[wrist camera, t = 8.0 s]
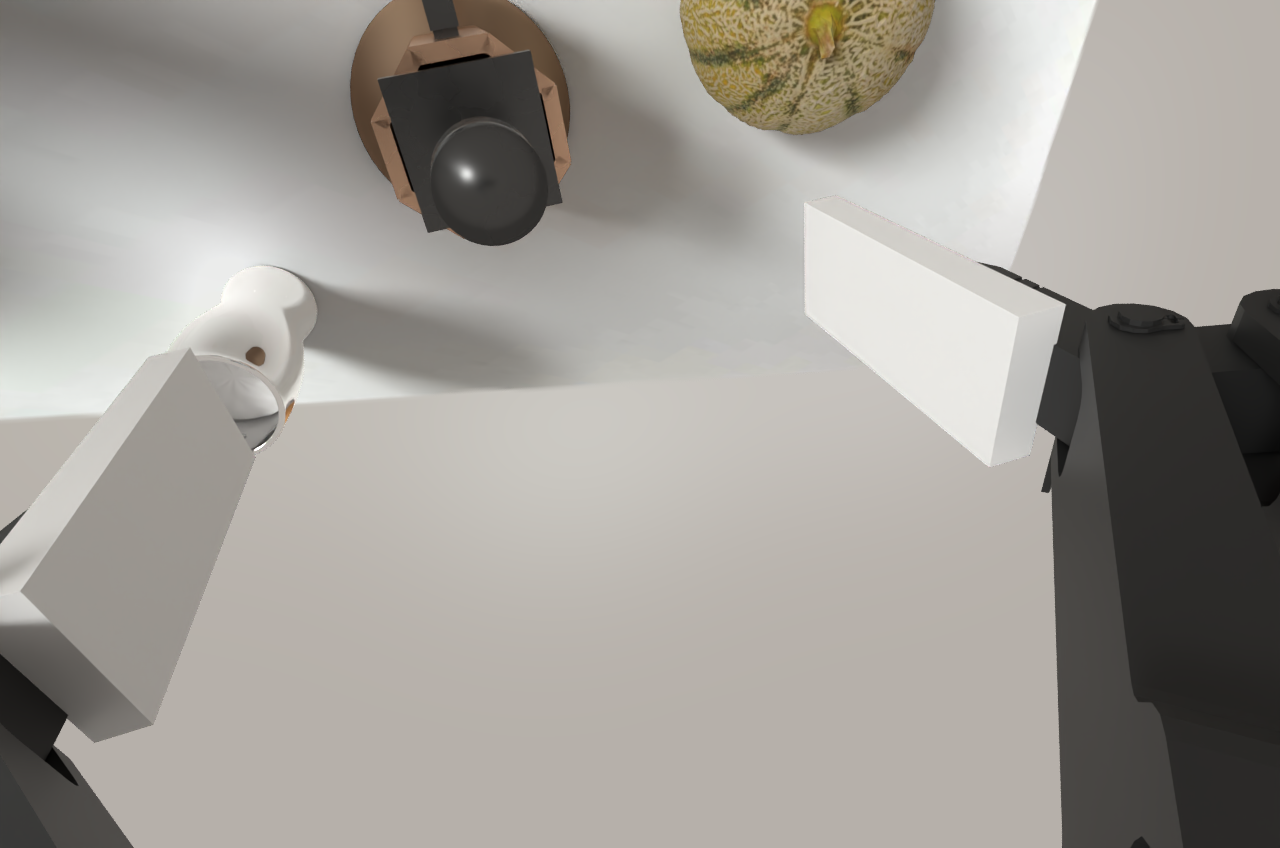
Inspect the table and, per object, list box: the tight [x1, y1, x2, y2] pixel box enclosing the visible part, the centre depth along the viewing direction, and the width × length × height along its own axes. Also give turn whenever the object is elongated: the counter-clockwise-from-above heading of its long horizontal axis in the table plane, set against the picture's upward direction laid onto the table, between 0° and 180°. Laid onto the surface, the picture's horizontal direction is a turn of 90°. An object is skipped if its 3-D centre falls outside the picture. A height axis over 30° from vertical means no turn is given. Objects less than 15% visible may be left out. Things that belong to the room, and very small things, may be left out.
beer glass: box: [165, 266, 317, 455], centre depth 42 cm, size 7×7×15 cm
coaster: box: [350, 0, 570, 183], centre depth 44 cm, size 14×14×1 cm
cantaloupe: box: [680, 0, 935, 135], centre depth 39 cm, size 15×15×15 cm
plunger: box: [431, 61, 548, 246], centre depth 34 cm, size 6×6×21 cm
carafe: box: [371, 0, 571, 239], centre depth 38 cm, size 9×12×13 cm
